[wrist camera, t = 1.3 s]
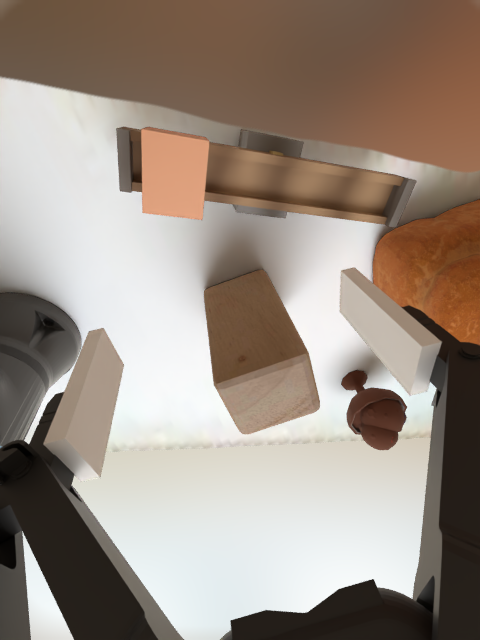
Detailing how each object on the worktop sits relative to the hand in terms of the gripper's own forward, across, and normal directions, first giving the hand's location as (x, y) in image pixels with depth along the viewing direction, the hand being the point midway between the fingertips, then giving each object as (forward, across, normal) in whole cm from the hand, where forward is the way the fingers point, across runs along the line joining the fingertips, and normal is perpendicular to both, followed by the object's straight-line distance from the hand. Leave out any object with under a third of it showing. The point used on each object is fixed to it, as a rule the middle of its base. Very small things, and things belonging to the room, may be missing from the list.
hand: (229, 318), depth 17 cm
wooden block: (+27, +3, -16) cm, 31 cm away
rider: (+19, -1, +5) cm, 20 cm away
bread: (+26, +35, -16) cm, 46 cm away
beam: (+26, +8, +2) cm, 28 cm away
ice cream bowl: (+26, +23, -41) cm, 54 cm away
